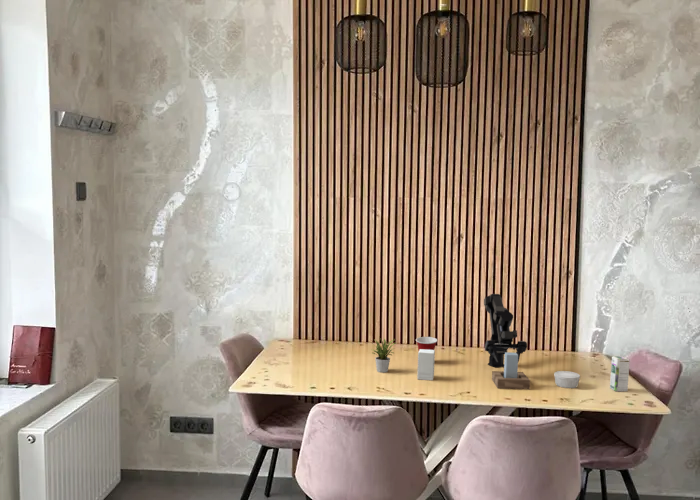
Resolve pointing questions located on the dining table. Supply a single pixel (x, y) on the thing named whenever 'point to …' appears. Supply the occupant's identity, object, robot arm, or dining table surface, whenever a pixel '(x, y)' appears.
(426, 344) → the plastic cup
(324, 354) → the dining table surface
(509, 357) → the slate blue peg
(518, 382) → the walnut socket block
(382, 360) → the house plant
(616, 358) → the syrup box
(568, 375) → the ramekin
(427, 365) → the supplement box
